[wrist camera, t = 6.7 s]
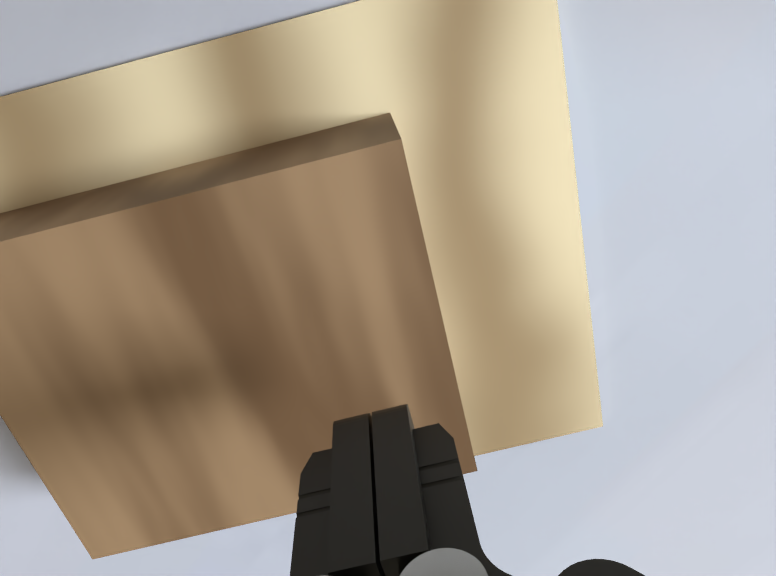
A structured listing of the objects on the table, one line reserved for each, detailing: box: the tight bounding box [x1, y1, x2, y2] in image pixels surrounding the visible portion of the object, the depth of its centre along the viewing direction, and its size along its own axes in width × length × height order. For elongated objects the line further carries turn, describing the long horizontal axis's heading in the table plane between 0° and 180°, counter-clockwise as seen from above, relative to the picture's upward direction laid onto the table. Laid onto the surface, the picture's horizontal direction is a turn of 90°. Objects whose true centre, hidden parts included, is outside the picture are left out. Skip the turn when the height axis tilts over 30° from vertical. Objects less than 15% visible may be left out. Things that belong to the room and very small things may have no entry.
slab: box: [0, 113, 477, 559], centre depth 18 cm, size 4×10×12 cm
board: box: [0, 0, 603, 456], centre depth 20 cm, size 20×16×1 cm
